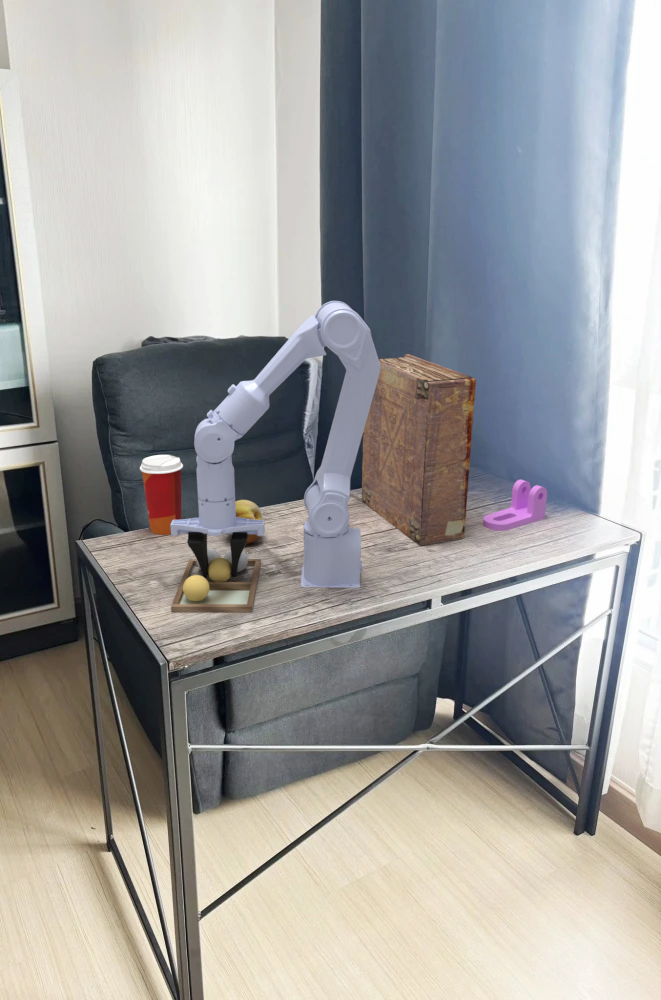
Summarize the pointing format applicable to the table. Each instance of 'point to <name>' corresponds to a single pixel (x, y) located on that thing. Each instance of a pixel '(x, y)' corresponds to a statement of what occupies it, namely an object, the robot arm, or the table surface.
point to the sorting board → (219, 594)
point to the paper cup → (162, 491)
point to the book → (419, 448)
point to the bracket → (519, 508)
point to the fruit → (248, 514)
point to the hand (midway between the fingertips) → (220, 575)
